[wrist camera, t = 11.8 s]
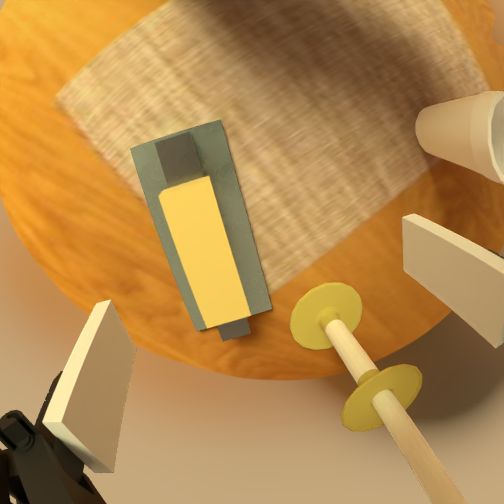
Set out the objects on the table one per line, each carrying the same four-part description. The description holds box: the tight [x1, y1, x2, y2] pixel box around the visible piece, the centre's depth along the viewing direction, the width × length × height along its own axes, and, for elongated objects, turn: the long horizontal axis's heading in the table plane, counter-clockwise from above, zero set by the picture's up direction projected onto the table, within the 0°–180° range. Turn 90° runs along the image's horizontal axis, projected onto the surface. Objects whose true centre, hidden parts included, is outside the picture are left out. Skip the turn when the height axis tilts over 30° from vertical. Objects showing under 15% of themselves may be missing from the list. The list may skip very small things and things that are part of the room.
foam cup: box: [415, 91, 504, 184], centre depth 25 cm, size 10×9×13 cm
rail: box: [130, 120, 272, 341], centre depth 29 cm, size 21×9×5 cm, turn 15°
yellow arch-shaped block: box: [159, 176, 251, 328], centre depth 27 cm, size 12×4×6 cm, turn 15°
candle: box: [289, 282, 467, 504], centre depth 23 cm, size 10×10×32 cm
